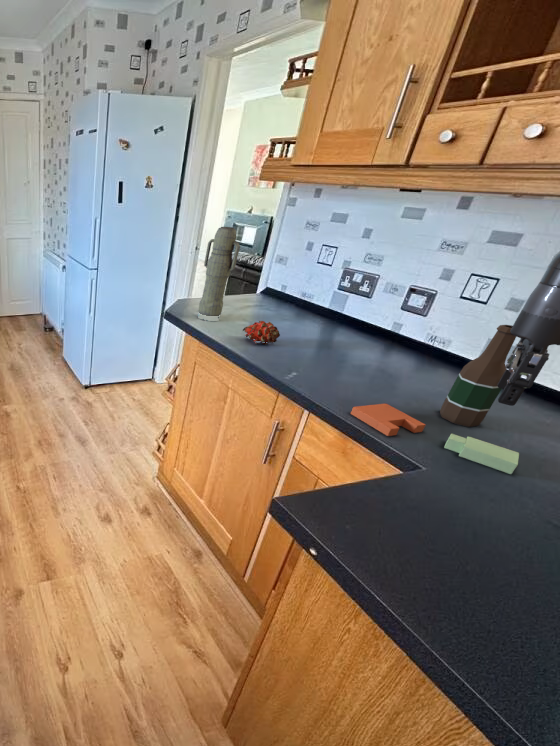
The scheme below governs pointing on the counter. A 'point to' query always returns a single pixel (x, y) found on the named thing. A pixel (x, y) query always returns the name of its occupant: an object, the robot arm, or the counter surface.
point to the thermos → (218, 270)
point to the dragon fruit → (262, 332)
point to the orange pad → (386, 419)
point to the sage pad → (484, 453)
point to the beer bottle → (479, 382)
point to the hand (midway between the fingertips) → (504, 395)
